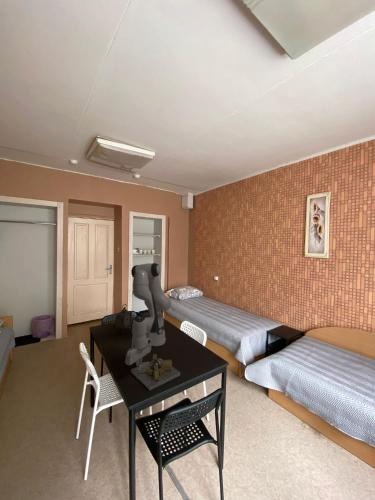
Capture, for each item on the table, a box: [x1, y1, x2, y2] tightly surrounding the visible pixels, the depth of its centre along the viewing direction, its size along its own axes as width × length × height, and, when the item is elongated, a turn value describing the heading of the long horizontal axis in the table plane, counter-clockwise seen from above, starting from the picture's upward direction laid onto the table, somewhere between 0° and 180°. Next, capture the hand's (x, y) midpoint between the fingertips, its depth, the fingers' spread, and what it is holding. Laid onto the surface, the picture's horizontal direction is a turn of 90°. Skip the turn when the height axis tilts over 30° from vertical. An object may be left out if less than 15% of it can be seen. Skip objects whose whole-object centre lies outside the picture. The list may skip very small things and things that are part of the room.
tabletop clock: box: [115, 303, 133, 334], centre depth 202 cm, size 14×9×25 cm, turn 162°
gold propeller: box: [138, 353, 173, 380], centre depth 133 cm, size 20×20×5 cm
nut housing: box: [130, 357, 181, 391], centre depth 133 cm, size 22×22×7 cm
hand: (138, 365), depth 133 cm, fingers closed
